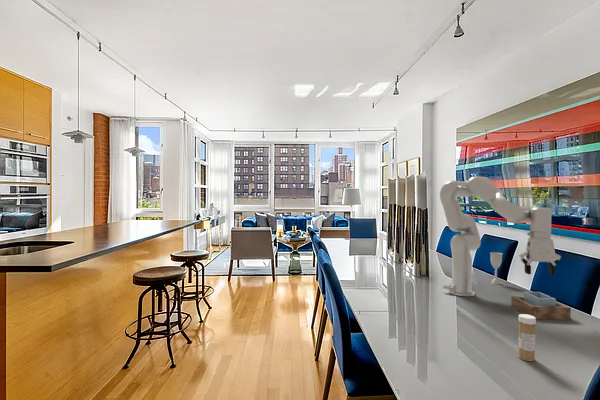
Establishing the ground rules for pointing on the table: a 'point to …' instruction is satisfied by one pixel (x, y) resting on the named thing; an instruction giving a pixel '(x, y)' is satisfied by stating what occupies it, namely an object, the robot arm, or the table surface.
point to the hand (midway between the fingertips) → (539, 274)
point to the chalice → (496, 264)
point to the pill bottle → (527, 337)
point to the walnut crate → (541, 309)
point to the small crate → (539, 299)
